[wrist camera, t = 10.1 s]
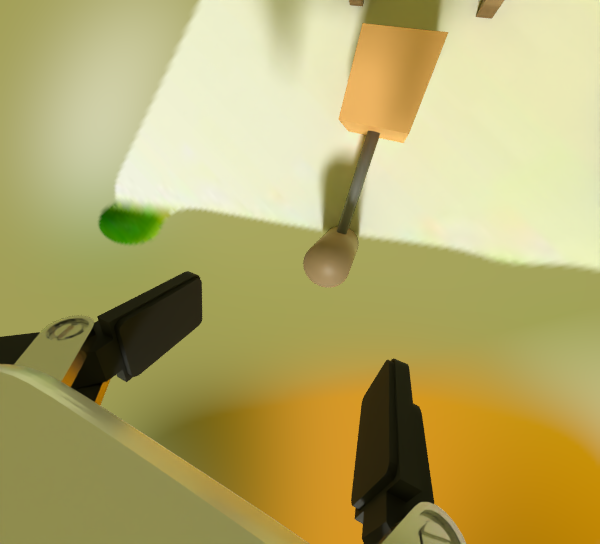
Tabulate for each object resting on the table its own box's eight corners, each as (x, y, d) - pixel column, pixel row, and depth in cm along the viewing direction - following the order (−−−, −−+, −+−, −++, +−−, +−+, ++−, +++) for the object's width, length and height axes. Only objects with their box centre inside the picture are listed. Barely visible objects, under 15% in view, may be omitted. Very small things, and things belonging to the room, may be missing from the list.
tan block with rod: (368, 60, 18) (359, 0, 12) (431, 68, 17) (458, 9, 11) (315, 252, 26) (294, 276, 20) (355, 266, 25) (346, 295, 19)
